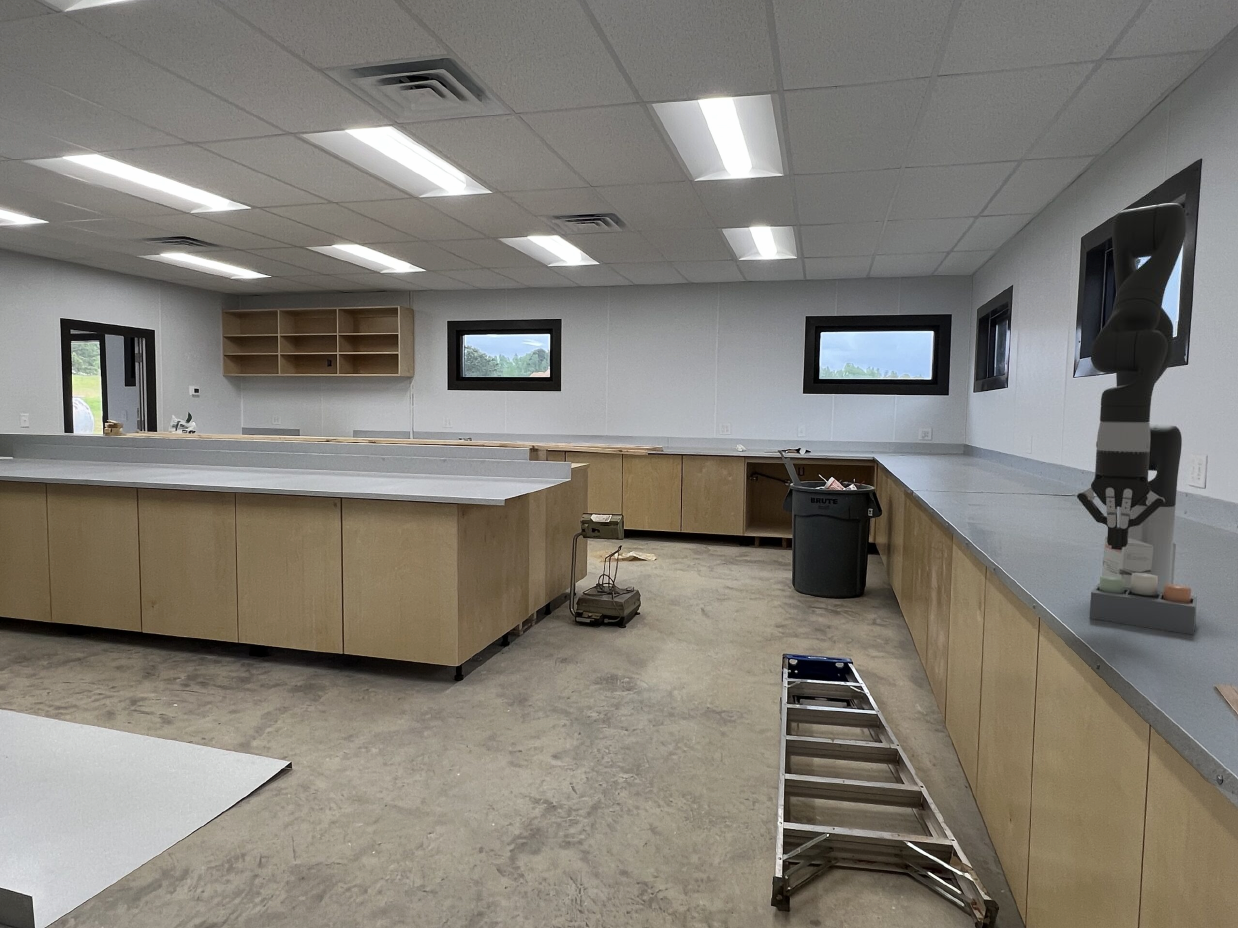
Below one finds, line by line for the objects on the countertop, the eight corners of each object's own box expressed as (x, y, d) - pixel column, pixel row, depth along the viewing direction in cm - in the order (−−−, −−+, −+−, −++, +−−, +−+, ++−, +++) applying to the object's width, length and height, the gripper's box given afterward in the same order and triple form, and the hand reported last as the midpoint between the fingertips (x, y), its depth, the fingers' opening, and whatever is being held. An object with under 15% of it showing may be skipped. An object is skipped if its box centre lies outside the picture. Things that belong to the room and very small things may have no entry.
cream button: (1131, 589, 127) (1132, 571, 127) (1157, 592, 125) (1158, 575, 124) (1129, 592, 124) (1130, 575, 124) (1155, 596, 122) (1157, 578, 122)
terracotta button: (1163, 600, 124) (1164, 583, 124) (1190, 604, 122) (1191, 586, 122) (1162, 604, 121) (1163, 586, 121) (1189, 608, 119) (1190, 590, 119)
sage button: (1100, 592, 130) (1101, 575, 130) (1125, 595, 128) (1126, 578, 127) (1097, 595, 127) (1098, 578, 127) (1122, 599, 125) (1123, 581, 125)
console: (1096, 608, 133) (1098, 583, 132) (1195, 622, 124) (1197, 596, 123) (1089, 618, 126) (1091, 592, 125) (1193, 634, 117) (1195, 606, 116)
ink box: (1150, 609, 132) (1154, 544, 132) (1119, 607, 133) (1123, 542, 133) (1127, 598, 141) (1131, 536, 140) (1098, 596, 142) (1102, 535, 141)
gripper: (1172, 449, 124) (1166, 551, 125) (1081, 446, 133) (1075, 541, 134) (1169, 451, 118) (1162, 557, 120) (1074, 447, 127) (1068, 547, 128)
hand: (1116, 548), depth 127 cm, fingers closed
